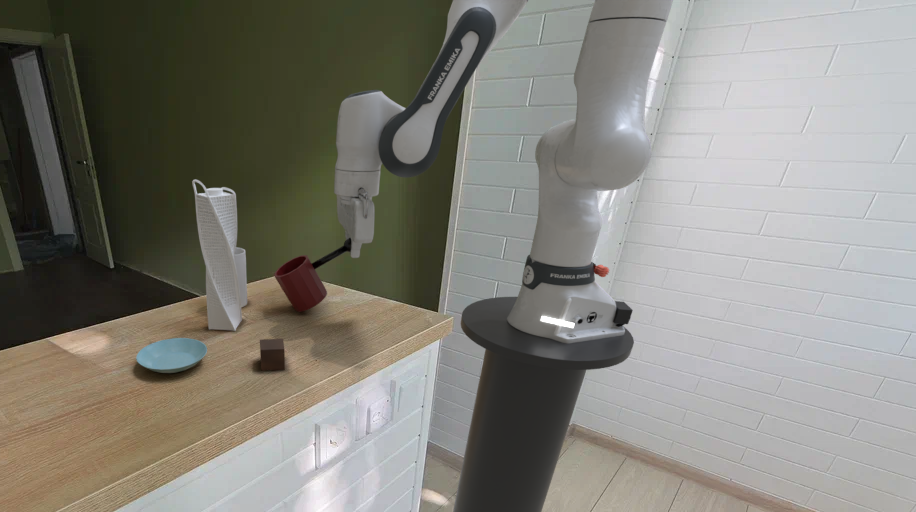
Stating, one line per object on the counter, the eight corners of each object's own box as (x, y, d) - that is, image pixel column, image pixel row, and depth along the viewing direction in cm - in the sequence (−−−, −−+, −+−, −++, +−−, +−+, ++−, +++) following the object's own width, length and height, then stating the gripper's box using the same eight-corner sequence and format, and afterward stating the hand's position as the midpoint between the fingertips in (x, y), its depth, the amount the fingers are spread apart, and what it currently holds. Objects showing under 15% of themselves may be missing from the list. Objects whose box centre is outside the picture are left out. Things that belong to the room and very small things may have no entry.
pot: (366, 262, 106) (348, 226, 102) (374, 273, 99) (356, 235, 95) (293, 302, 109) (273, 269, 105) (296, 316, 102) (275, 281, 98)
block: (283, 358, 85) (283, 338, 83) (284, 369, 81) (284, 348, 79) (260, 359, 84) (259, 339, 83) (261, 371, 81) (260, 349, 79)
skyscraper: (199, 331, 95) (183, 181, 82) (211, 316, 102) (198, 176, 89) (238, 333, 94) (228, 182, 81) (248, 318, 101) (240, 177, 88)
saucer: (131, 382, 77) (129, 370, 76) (145, 350, 88) (143, 338, 87) (205, 379, 78) (204, 367, 77) (210, 347, 89) (209, 336, 88)
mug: (224, 297, 112) (220, 246, 106) (252, 299, 111) (249, 247, 105) (208, 314, 103) (203, 259, 97) (238, 316, 102) (235, 260, 96)
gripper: (385, 193, 86) (378, 268, 92) (362, 177, 104) (357, 241, 110) (350, 193, 85) (346, 269, 91) (333, 177, 103) (330, 242, 109)
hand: (352, 254), depth 101 cm, fingers closed on pot, 3 cm apart
